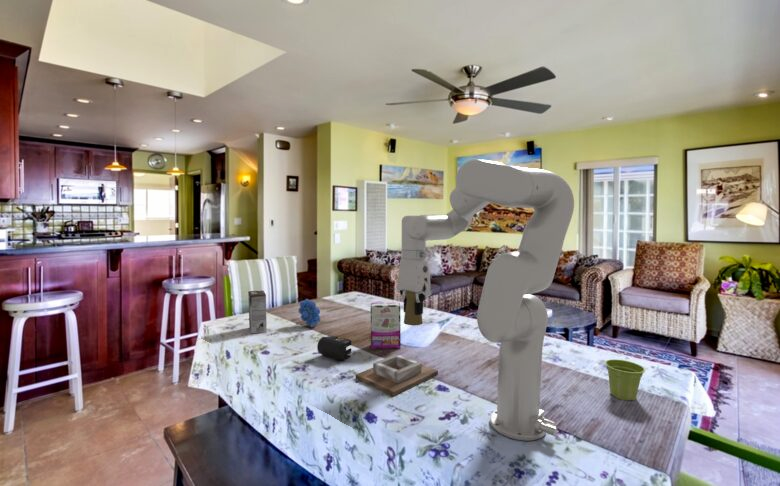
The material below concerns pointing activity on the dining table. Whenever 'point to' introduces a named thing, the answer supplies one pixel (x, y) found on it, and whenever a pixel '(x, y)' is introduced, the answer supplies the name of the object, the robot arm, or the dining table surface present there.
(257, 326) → the coffee box
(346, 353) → the end cap
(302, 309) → the blue scalloped wheel
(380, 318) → the candy bar box
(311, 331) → the dining table surface
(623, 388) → the plant pot
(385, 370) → the socket board
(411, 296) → the cork
